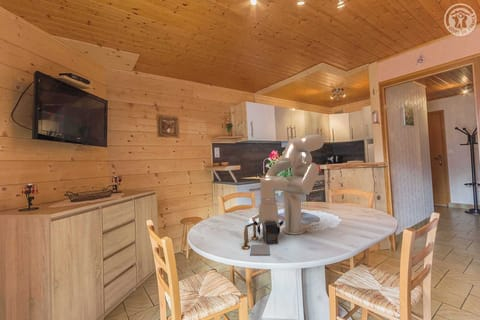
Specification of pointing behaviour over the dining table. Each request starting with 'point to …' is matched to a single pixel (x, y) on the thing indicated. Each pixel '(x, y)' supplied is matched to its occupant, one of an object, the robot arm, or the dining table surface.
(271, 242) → the small box
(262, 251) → the rubber pad
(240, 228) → the dining table surface
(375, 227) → the dining table surface
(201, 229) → the dining table surface
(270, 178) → the robot arm
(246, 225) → the bent rod
